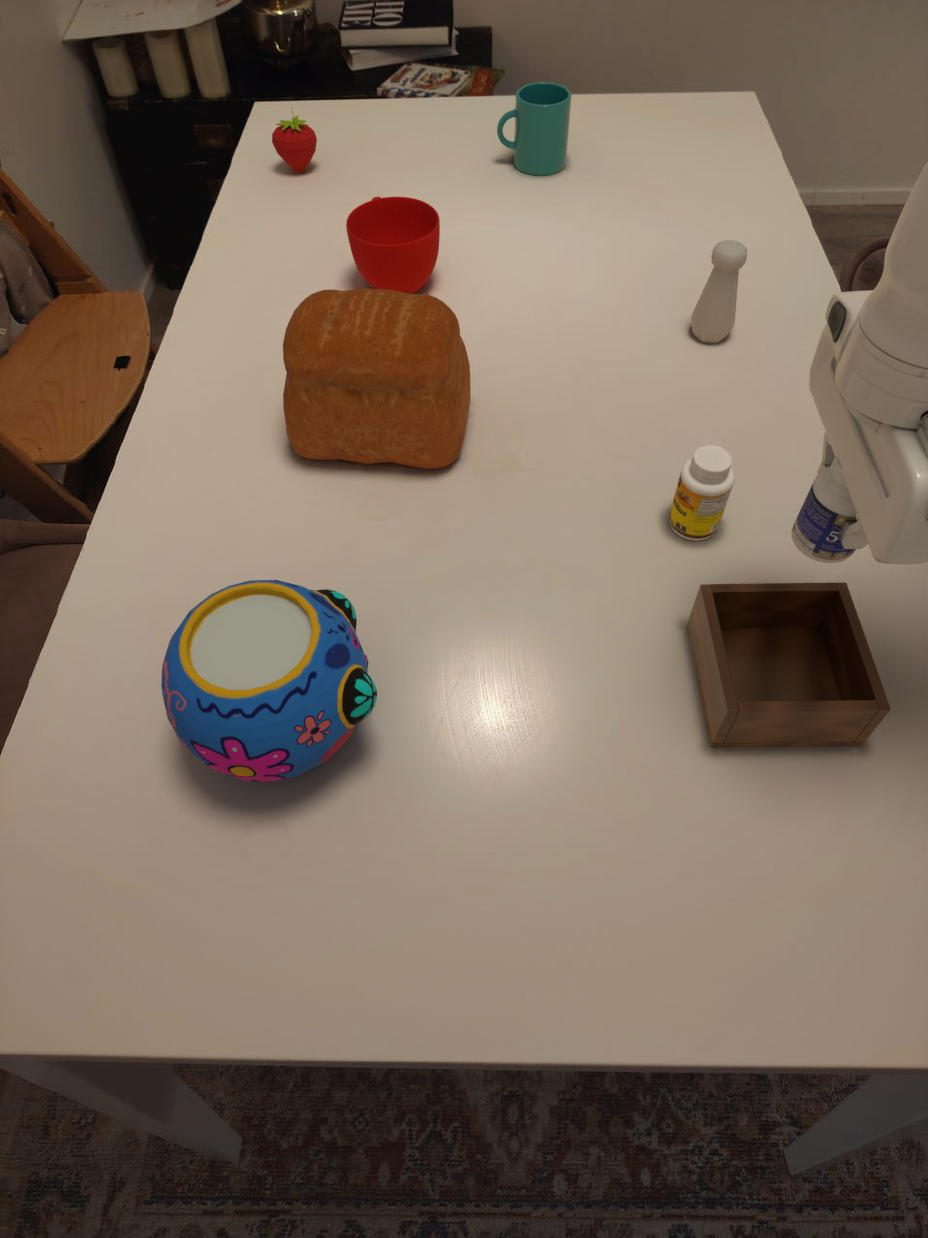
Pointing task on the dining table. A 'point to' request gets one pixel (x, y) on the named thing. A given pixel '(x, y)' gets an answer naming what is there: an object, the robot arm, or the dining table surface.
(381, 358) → the bread
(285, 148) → the strawberry
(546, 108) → the cup
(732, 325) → the salt shaker
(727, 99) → the dining table surface
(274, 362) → the dining table surface
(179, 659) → the ceramic pot
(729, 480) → the supplement bottle
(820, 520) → the pill bottle
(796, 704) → the box
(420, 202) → the ceramic cup
